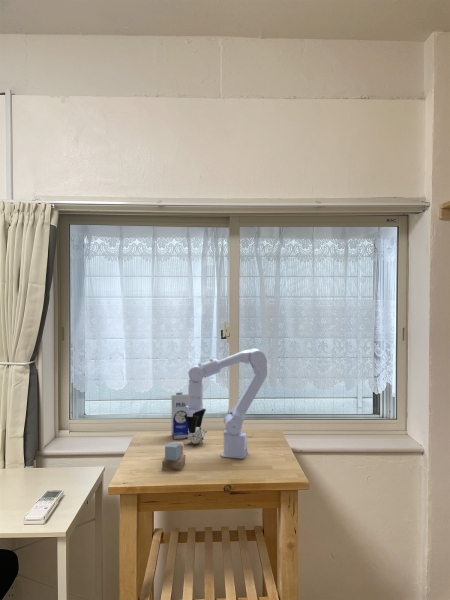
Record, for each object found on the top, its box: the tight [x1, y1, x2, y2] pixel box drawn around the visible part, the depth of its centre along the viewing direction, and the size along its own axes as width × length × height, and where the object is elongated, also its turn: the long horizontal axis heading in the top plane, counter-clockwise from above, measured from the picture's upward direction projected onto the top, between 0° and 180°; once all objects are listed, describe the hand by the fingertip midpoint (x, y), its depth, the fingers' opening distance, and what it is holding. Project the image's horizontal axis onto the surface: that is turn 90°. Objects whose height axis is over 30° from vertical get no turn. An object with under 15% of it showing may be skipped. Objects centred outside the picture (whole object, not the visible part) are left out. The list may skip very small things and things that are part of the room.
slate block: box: [164, 442, 181, 461], centre depth 161 cm, size 4×4×5 cm
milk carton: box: [170, 392, 189, 440], centre depth 195 cm, size 7×7×20 cm
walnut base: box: [161, 454, 186, 472], centre depth 161 cm, size 7×7×4 cm
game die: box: [185, 426, 208, 447], centre depth 185 cm, size 9×8×10 cm
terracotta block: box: [171, 441, 185, 455], centre depth 172 cm, size 4×4×5 cm
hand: (195, 429), depth 172 cm, fingers open, 7 cm apart
